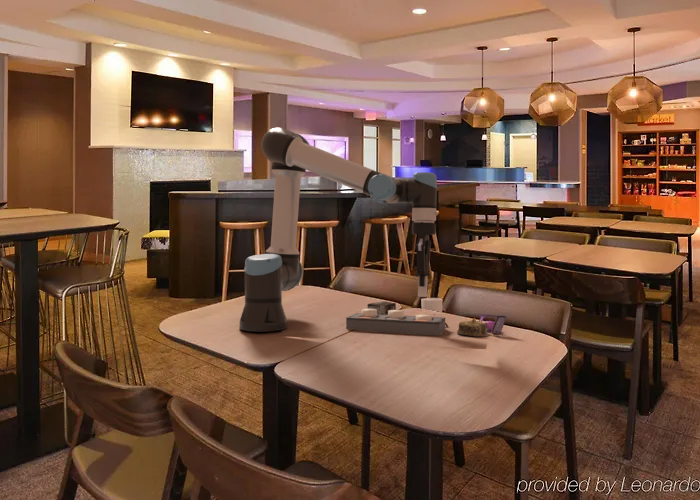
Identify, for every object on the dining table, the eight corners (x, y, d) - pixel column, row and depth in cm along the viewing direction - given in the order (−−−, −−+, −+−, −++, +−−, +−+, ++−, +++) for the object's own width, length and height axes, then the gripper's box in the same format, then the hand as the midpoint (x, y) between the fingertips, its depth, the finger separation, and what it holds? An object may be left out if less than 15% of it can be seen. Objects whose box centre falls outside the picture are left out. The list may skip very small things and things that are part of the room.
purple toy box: (498, 332, 170) (473, 330, 177) (505, 341, 173) (480, 339, 180) (505, 314, 174) (480, 312, 180) (512, 323, 176) (487, 322, 183)
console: (346, 330, 178) (346, 317, 178) (356, 325, 188) (356, 312, 188) (439, 335, 168) (439, 322, 168) (445, 329, 179) (445, 317, 179)
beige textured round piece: (454, 336, 168) (454, 319, 168) (459, 331, 178) (459, 314, 177) (487, 339, 165) (487, 321, 165) (491, 333, 174) (491, 316, 174)
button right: (414, 326, 174) (414, 316, 174) (417, 324, 179) (417, 314, 179) (429, 327, 172) (429, 317, 172) (432, 325, 177) (432, 315, 177)
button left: (359, 320, 180) (359, 310, 180) (364, 317, 184) (364, 308, 184) (374, 320, 178) (374, 310, 178) (378, 318, 183) (378, 309, 183)
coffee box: (382, 344, 205) (383, 301, 205) (396, 347, 201) (396, 302, 200) (366, 348, 198) (366, 303, 198) (380, 350, 194) (380, 304, 194)
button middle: (386, 321, 177) (386, 311, 177) (390, 319, 182) (390, 309, 181) (401, 322, 175) (401, 312, 175) (405, 320, 180) (405, 310, 180)
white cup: (419, 324, 210) (419, 298, 210) (440, 324, 211) (439, 297, 210) (423, 327, 202) (423, 300, 202) (444, 327, 203) (444, 300, 202)
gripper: (432, 221, 167) (430, 299, 168) (439, 222, 180) (437, 295, 180) (407, 221, 170) (406, 298, 170) (416, 222, 182) (415, 293, 183)
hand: (422, 296), depth 175 cm, fingers closed
